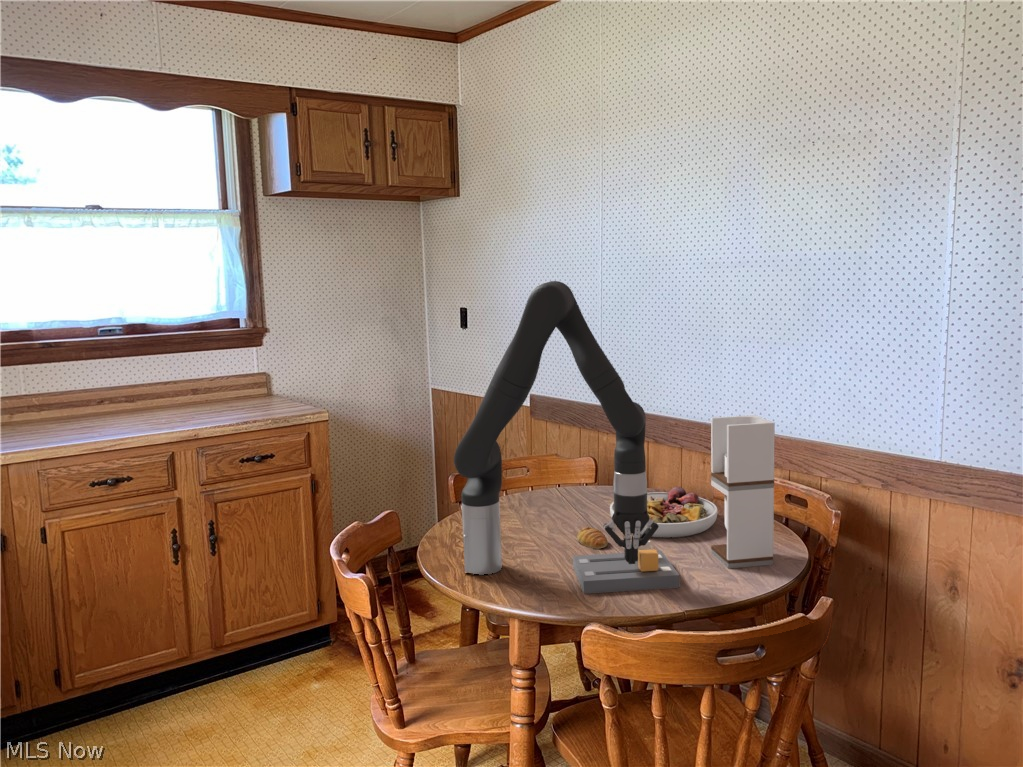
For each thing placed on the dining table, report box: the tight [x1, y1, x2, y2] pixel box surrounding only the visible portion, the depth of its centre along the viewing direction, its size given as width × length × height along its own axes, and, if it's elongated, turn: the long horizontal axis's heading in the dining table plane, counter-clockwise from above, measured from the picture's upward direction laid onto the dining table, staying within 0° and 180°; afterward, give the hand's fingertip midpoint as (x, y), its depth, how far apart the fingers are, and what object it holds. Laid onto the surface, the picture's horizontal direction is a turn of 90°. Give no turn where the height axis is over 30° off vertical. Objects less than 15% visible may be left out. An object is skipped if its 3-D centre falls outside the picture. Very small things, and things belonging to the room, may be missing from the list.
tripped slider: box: [638, 548, 658, 571], centre depth 182 cm, size 4×3×4 cm
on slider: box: [638, 540, 652, 550], centre depth 190 cm, size 4×3×4 cm
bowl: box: [609, 486, 718, 539], centre depth 225 cm, size 30×30×8 cm
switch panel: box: [572, 550, 681, 595], centre depth 187 cm, size 22×16×3 cm
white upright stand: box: [710, 414, 776, 569], centre depth 193 cm, size 11×11×35 cm
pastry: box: [576, 526, 609, 550], centre depth 210 cm, size 9×7×4 cm
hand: (631, 562), depth 182 cm, fingers closed
